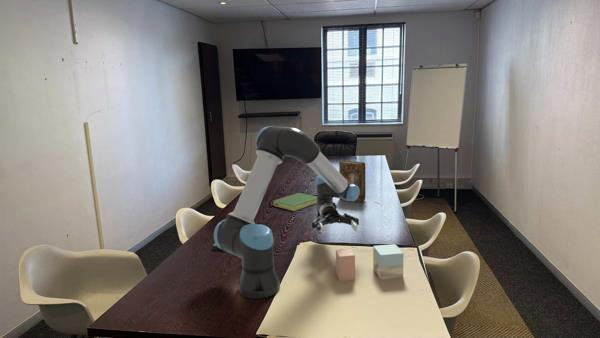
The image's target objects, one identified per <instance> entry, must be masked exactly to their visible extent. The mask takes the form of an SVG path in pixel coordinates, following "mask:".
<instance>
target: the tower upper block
mask: <svg viewBox="0 0 600 338" xmlns="http://www.w3.org/2000/svg"><path fill="white" fill-rule="evenodd" d="M372 248H373V249H372V250H373V251H372V253H373V254H372V257H373V258H374V259H375V261H376V262H377V263H378V265H379V266H380V267H391V266H403V267H404V256H405V255H404V252H403V251H402V249H400V248H399V246H398V245H396V243H394V244H393V243H392V244H384V245H383V244H382V245H381V244H380V245H373V246H372ZM373 258H372V259H373Z"/></svg>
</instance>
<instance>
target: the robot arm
mask: <svg viewBox="0 0 600 338" xmlns="http://www.w3.org/2000/svg"><path fill="white" fill-rule="evenodd" d="M254 143H255V148H256V149H255V154H256V156H257V157H256V159H255V162H254V164H253V166H252V168H251V170H250V172H249V175H248V177H247V180H246V182H245V184H244V186H243V189H242V191H241V193H240V196H239V198H238V200H237V203H236V205H235V207H234V209H233V211H231V212H229V213H228V214H227V216H226V218H225V219H223V220H221V221H220V222H218V223H217V225H216V226H215V228H214V231H213V240H214V244H215V243H216V245H217V246H218V247H219V248H220V249H222V250H221V251H223V252H226V253H228V254H231V255H234V256H235V257H238V258H240V259H241V266H242V267H241V270H242V271H241V273H240V274H241V275H240V280H239V281H238V291H239V294H240V295H241V296H243V297H245V298H247V299H248V298H249V299H252V300H253V299H266V298H269V297H271V296H274V295H275V294H277V293H278V292H279V291H280V288H281V287H280V286H281V284H280V278H279V277H278V273H277V271H276V268H275V257H274V256H275V254H274V253H275V252H274V251H275V250H274V236H273V231H272V230H271V229H270V227H268V226H266V225H265V224H260V223H259V224H257V223H255V220H254V219H255V218H256V216H257V213H258V211H259V208H260V206H261V203H262V201H263V198H264V197H265V194H266V193H267V189H268V187H269V185H270V182H271V180H272V178H273V175H274V173H275V172H276V171H275V170H276V168H277V166H278V165H280V164H281V165H282V163H283V161H284V159H285V157H289V158H294V159H296V160H298V161H299V162H300V163H301V164H304V165H307V166H308V167H309V168H310V169H311V170H312V171H313V172H314V173H315V174H316V175H317V177H316V184H315V185H316V196H317V202H316V204H315V208H316V211H317V213H318V212H319V213H320V215H321V217H320V216H319V215H318V214H317V215H316V217H315V218H314V220H313V221H312V222H311V229H315V228H316V231H320V232H321V235H325V227H324V226H325V225H328V224H329V225H332V224H336V223H337V224H345V225H349V226H351V228H352V230H353V231H354V233H355V232H356V233H357V232H358V226H359V225H360V219H359V218H357V217H355V216H353V215H349V214H348V213H343V215H342V214H341V213H339V211H338V210H337V208H335V207H334V206H333V202H334V199H333V198H335V199H336V198H337V199H339V200H340V199H344V200H347V201H346V202H351V201H355V200H356V199H357V198H358V196H359V193H360V190H359V187H358V186H357V185H354V184H350V183H349V182H348V181H347V180H346V179H345V178H344V177H343V176H342V175H341V174H340V172H339V169H337V168H336V167H335V166H334V164H332V162H330V160H329V159H328V158H327V157H326V156H325V155H324V154H323V153H322V152H321V148H320V146H319V145H318V143H316V141H314V140H313V138H311V137H310V136H309V135H308V134H306V133H305V132H303V131H302V130H300V129H299V128H296V127H292V126H290V127H287V126H277V125H271V126H269V125H268V126H265V127H262V128H261V129H260V130H259V131H258V132H257V134H256V137H255V139H254ZM344 200H343V201H344ZM348 200H349V201H348Z"/></svg>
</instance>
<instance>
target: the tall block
mask: <svg viewBox="0 0 600 338" xmlns="http://www.w3.org/2000/svg"><path fill="white" fill-rule="evenodd" d="M335 265H336V266H335V267H336V268H335V274H336V275H335V276H336V277H337V279H338V281H339V282H343V281H356V255H355V253H354V252H353V250H352V248H348V249H336V250H335Z"/></svg>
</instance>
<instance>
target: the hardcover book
mask: <svg viewBox="0 0 600 338" xmlns="http://www.w3.org/2000/svg"><path fill="white" fill-rule="evenodd" d="M316 202H317V195H312V194H306V193H302V192H297V193H294V194H290V195H287V196H283V197H281V198H277V199H274V200H272V207H277V208H281V209H284V210H288V211H291V212H295V211H298V210H302V209H304V208H307V207H310V206H313V205H316Z"/></svg>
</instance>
